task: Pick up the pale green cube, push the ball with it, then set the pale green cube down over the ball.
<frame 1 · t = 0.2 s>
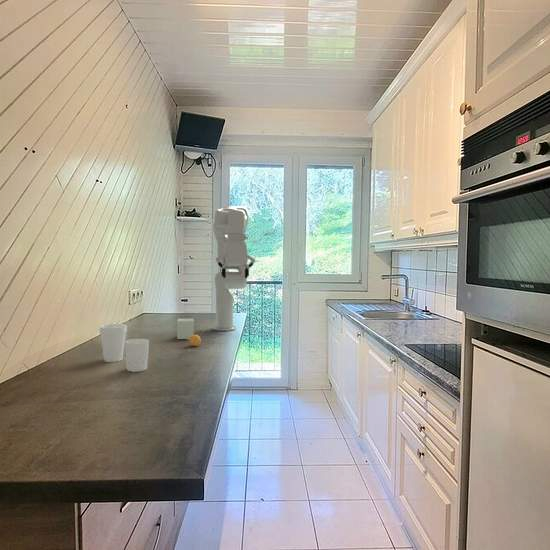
hand: (235, 277, 172), 31 cm above the worktop, tool pointing down, fingers open, 9 cm apart
foam cup: (113, 360, 149), on the worktop
white cup: (136, 369, 138), on the worktop
ball: (195, 340, 175), on the worktop
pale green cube: (185, 337, 192), on the worktop
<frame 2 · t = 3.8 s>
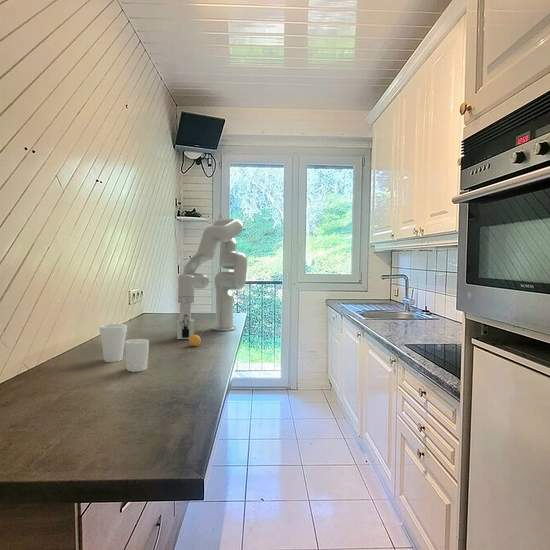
hand: (185, 335, 191), 1 cm above the worktop, tool pointing down, fingers closed on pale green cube, 7 cm apart
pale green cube: (185, 337, 192), on the worktop, touching gripper
everything else where it was.
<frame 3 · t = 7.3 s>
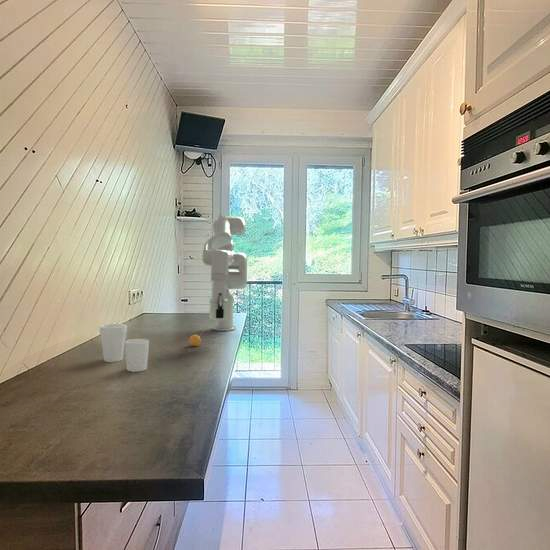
hand: (218, 316, 176), 13 cm above the worktop, tool pointing down, fingers closed on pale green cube, 7 cm apart
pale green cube: (218, 319, 176), point 12 cm above the worktop, touching gripper
everything else where it was.
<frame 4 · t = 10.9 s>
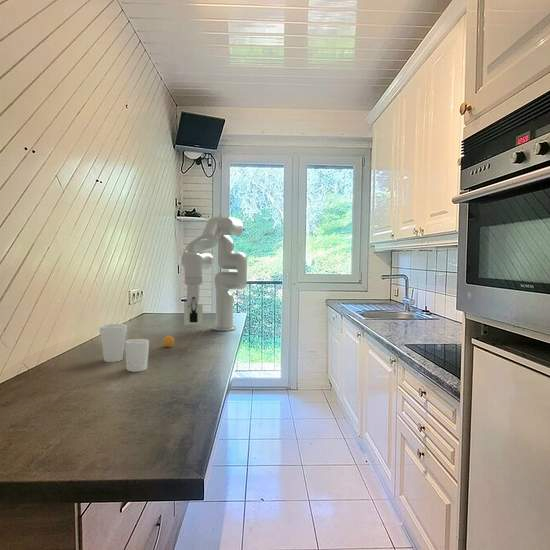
hand: (193, 320, 175), 12 cm above the worktop, tool pointing down, fingers closed on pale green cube, 7 cm apart
ball: (168, 341, 172), on the worktop
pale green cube: (193, 322, 175), point 10 cm above the worktop, touching gripper
everything else where it was.
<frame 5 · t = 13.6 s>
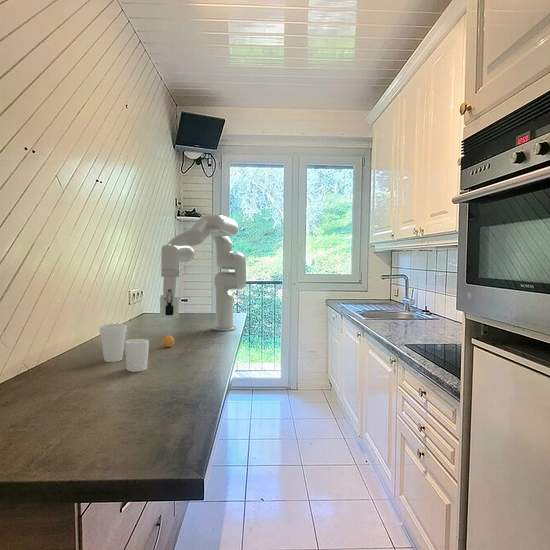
hand: (169, 313, 172), 15 cm above the worktop, tool pointing down, fingers closed on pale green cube, 7 cm apart
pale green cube: (169, 316, 172), point 13 cm above the worktop, touching gripper
everything else where it was.
when the fingers open (2 cm above the worktop, at t = 16.1 s): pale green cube stays where it is, on the worktop.
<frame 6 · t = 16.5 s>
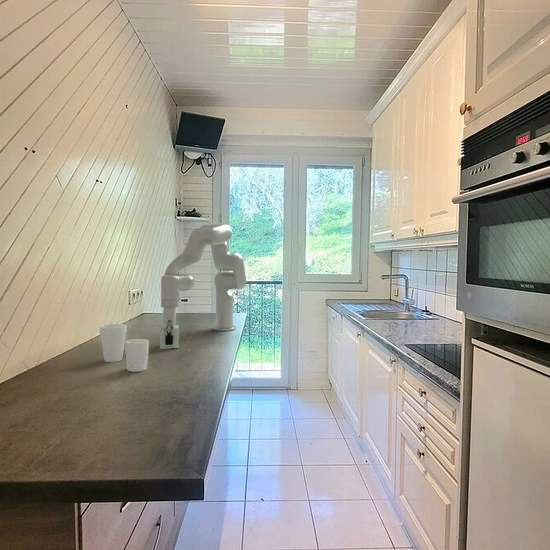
hand: (169, 342, 172), 2 cm above the worktop, tool pointing down, fingers open, 9 cm apart
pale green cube: (169, 346, 172), on the worktop
everything else where it was.
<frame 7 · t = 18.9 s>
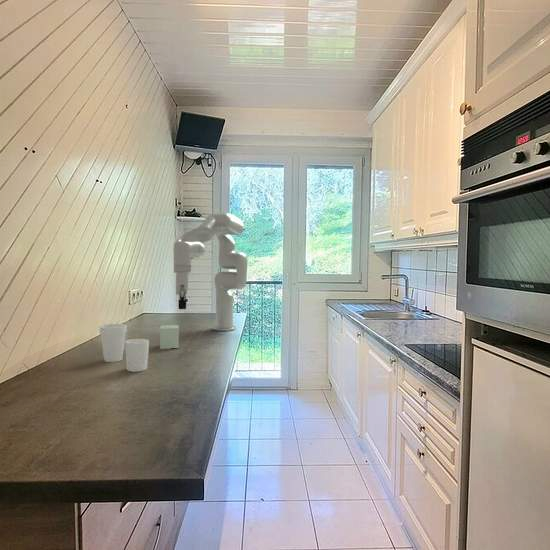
hand: (182, 307, 176), 17 cm above the worktop, tool pointing down, fingers open, 9 cm apart
nothing on the worktop moved.
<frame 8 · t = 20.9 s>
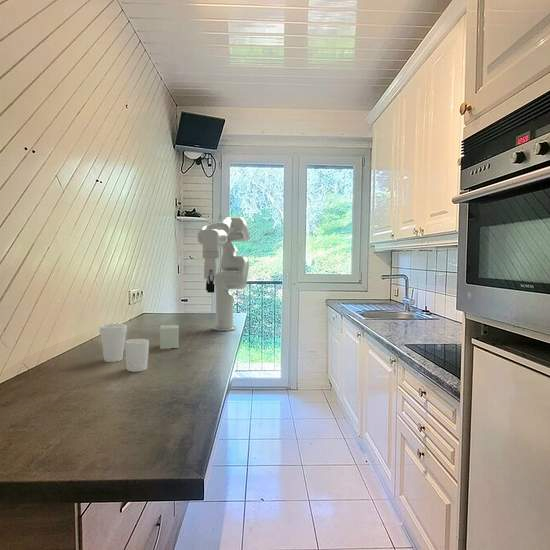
hand: (210, 291, 186), 23 cm above the worktop, tool pointing down, fingers open, 9 cm apart
nothing on the worktop moved.
at the end: ball 0.5 cm from the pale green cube (horizontally); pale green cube on the worktop; ball moved 11.4 cm from its start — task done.
